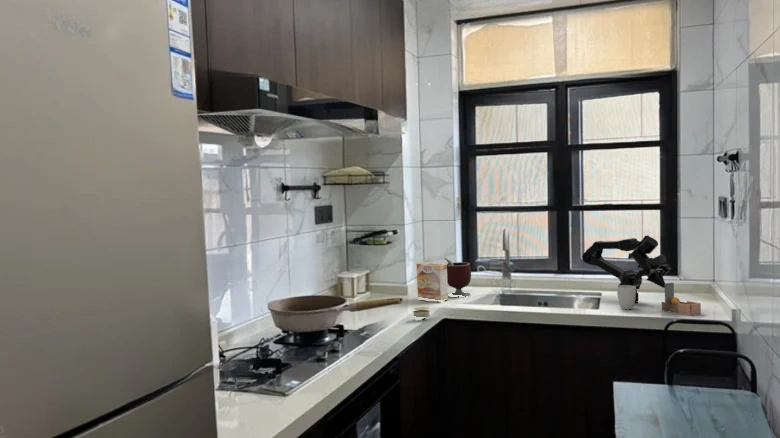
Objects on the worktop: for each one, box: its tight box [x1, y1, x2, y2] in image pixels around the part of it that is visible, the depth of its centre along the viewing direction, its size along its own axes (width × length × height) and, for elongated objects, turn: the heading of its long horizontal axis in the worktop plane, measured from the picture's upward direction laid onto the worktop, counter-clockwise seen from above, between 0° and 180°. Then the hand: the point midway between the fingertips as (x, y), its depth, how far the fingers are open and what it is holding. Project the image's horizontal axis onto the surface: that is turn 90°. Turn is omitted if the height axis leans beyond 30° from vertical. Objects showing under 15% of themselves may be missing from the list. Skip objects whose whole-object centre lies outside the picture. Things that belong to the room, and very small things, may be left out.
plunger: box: [664, 282, 675, 303], centre depth 256 cm, size 1×5×9 cm, turn 119°
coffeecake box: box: [416, 261, 449, 300], centre depth 302 cm, size 15×7×20 cm, turn 49°
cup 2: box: [677, 300, 702, 317], centre depth 249 cm, size 6×6×4 cm
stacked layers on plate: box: [412, 306, 431, 318], centre depth 261 cm, size 10×9×6 cm
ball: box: [671, 296, 681, 304], centre depth 254 cm, size 4×4×4 cm
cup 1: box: [616, 285, 637, 311], centre depth 263 cm, size 8×8×10 cm
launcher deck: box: [661, 301, 687, 314], centre depth 255 cm, size 8×6×4 cm
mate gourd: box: [443, 257, 472, 297], centre depth 312 cm, size 16×14×20 cm
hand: (665, 287), depth 258 cm, fingers closed
